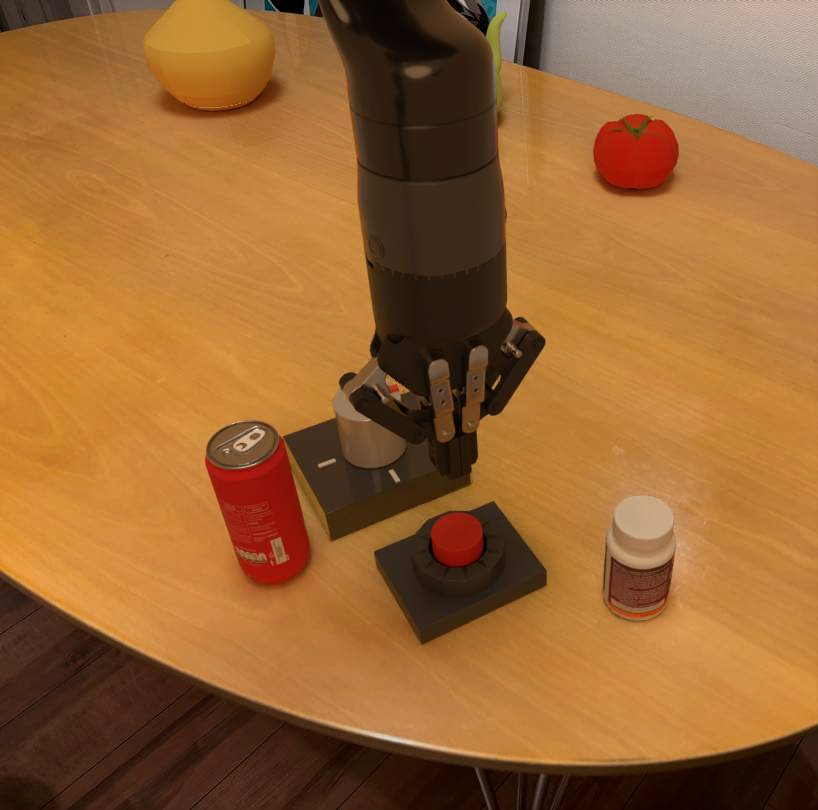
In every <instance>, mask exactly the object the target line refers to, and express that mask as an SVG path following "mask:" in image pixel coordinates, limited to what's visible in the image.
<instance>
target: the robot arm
mask: <svg viewBox="0 0 818 810" xmlns="http://www.w3.org/2000/svg"><path fill="white" fill-rule="evenodd" d="M317 2H318V6H319V8H320V12H321V14H322V16H323V20H324V21H325V25H326V27H327V30H328V32H329V34H330V37H331V40H332V41H333V43H334V45H335V48H336V51H337V52H338V55H339V58H340V60H341V63H342V66H343V69H344V73H345V78H346V89H347V90H346V91H347V98H348V99H347V100H348V106H349V114H350V120H351V128H352V134H353V142H354V148H355V155H356V199H357V208H358V209H357V210H358V215H359V223H360V231H361V238H362V245H363V251H364V258H365V259H364V260H365V266H366V272H367V279H368V286H369V294H370V300H371V307H372V315H373V320H374V325H375V327H374V333H373V336H372V338H371V341H370V343H369V353H370V357H371V358H370V359H369V360H368V362H367V363H366V364H365V365H364V366H363V367H362V368H361V369H360V370H359V372H358V373H355V372H354V371H350V372H345V373H344V374H343V375H342V376H341V377H340V378H339V380H338V386H339V389H340V388H341V389H342V391H343V392H344V394H345V395H346V397H347V398H348V400H349V402H350V403H351V404H352V406H353V407H354V409H355V410H356V411H357V412H358V413H360V414H362V415H363V416H365V417H367V418H369V419H370V420H372V421H374V422H375V423H377V424H379V425H381V426H382V427H384V428H386V429H387V430H389V431H391V432H392V433H394V434H396V435H398V436H399V437H401V438H403V439H404V440H406V441H408V442H409V443H411V444H413V445H418V444H421V443H423V442H424V441H425V440H426V438H427V443H428V452H429V459H430V461H431V462H432V463H433V465H434V466H435V468H436V469H437V470H438V472H439V473H440V474H441V476H444V475H446V476H447V477H448V479H449V480H450V481H452V480H455V479H458V478H460V477H463V476H465V475H468V474H470V475H471V474H472V472H473V469H472V465H475V464H476V463H477V462H478V461H477V460H478V458H479V450H478V449H479V447H478V431H477V430H478V429H479V427H480V424H481V423H480V422H481V420H483V419H484V418H485V417H486V416H488V415H489V416H491V417H496V416H498V415H500V414H501V413H502V412H503V411H504V409H505V408H506V407H507V405H508V404H509V402H510V400H511V399H512V398H513V396H514V394H515V392H516V391H517V389H518V388H519V386H520V385H521V383H522V382H523V380H524V379H525V377H526V376H527V374H528V373H529V371H530V369H531V368H532V366H533V365H534V364H535V362H536V360H537V359H538V358H539V356H540V355H541V353H542V351H543V350H544V349H545V347H546V345H547V344H546V343H547V340H546V338H545V337H544V336H543V334H541V333H540V332H539V331H538V330H537V329H536V328H535V327H534V326H533V325H532V324H531V323H530V322H529V321H528V320H527V319H526V318H525V317H524V316H516V317H515V318H513V314H512V313H511V311H510V310H509V308H508V307H507V305H508V267H507V266H508V265H507V263H508V262H507V258H508V257H507V225H506V224H507V218H508V213H507V206H506V195H505V184H504V178H503V173H502V167H501V160H500V151H499V150H500V149H499V125H498V124H499V123H498V119H499V118H498V113H497V79H496V67H495V59H494V54H493V51H492V48H491V45H490V43H489V42H488V40H487V38H486V35H485V34H484V33H483V32H482V31H481V30H480V29H479V28H478V27H477V26H475V25H474V24H473V23H472V22H470V21H469V20H467V19H466V18H464V16H462V15H461V14H460V13H458V12H457V11H456V10H455V9H454V8H453V7H452V6H451V5H450V3H449V2H448V1H447V0H317ZM387 377H390V378H391V379H392V380H394V381H396V382H397V383H398V384H400V385H401V386H402V387H404V388H405V389H407V390H408V392H409V391H411V392H412V393H414V394H415V395H416V396H417V400H418V405H419V409H418V410H411V408H410V407H408V406H407V405H405V404H403V403H402V402H400V401H399V400H397V399H396V398H394V397H392V396H391V395H390V388H389V386H388V385H387V384H386V381H385V380H387ZM498 379H499V380H498ZM497 381H498V382H497ZM496 382H497V384H496ZM495 384H496V385H495ZM494 386H495V387H494ZM493 387H494V388H493Z"/></svg>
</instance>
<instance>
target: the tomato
mask: <svg viewBox="0 0 818 810" xmlns="http://www.w3.org/2000/svg"><path fill="white" fill-rule="evenodd" d="M652 118H654V115H653V116H649V115H646V114H641V113H634V114H633V113H632V114H628V115H625V116H624V117H621V118H620V117H619V119H618V120H611V121H607V122H605V124H603V125H602V126H601V127H600V128H599V130H598V133H597V135H596V136H595V140H594V143H593V150H592V155H593V162H594V165H595V168H596V171H597V172H599V173H600V174H601V175H602V177H603V179H604V180H605V181H606V182H608V183H609V184H611V186H614V187H618V188H621V189H638V190H646V189H651V188H655V187H657V186H659V185H661V184H663V183H664V182H666V180H667V179H668V177H669V176H670V174H671V173H672V172H673V170H674V169H675V167H676V166H677V164H678V160H679V157H680V150H679V147H680V145H679V143H678V141H677V137H676V136H675V132H674V130H673V129H672V128H671V127H670V125H668V123H667V122H665V121H664V120H663V119H658V118H654V119H652Z"/></svg>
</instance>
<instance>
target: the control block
mask: <svg viewBox="0 0 818 810" xmlns="http://www.w3.org/2000/svg"><path fill="white" fill-rule="evenodd" d="M451 513H466V514H469V515H472V516H474V517H475V518H476V519H477V520H478V521H479V522H480V523H481V526H482V530H483V552H482V554H481V556H480V557H479V558H478V559H477V560H476V561H475V562H473V563H472V564H470V565H467V566H464V567H450V566H446V565H444V564H442V563H440V562H439V561H438V560H437V559H436V557H435V556H434V553H433V547H432V538H431V530H432V527H433V525H434V524H435V522H436V521H437V520H438V519H440V518H441V517H443V516H445V515H447V514H451ZM373 554H374V560H375V565H376V568H377V570H378V572H379V573H380V575H381V576H382V579H383V580H384V582H385V584H386V585H387V587H388V589H389V591H390V592H391V594H392V596H393V598H394V599H395V601H396V602H397V604H398V606H399V609H400V610H401V612H402V613H403V615H404V616H405V618H406V620H407V622H408V623H409V625H410V627H411V629H412V631H413V632H414V634H415V636H416V638H417V639H418V641H419V642H420V644H421V645H424V644H426V643H428V642H431V641H433V640H435V639H436V638H439V637H441V636H444V635H445V634H447V633H450V632H451V631H454V630H456V629H458V628H460V627H462V626H464V625H466V624H468V623H471V622H472V621H475V620H477V619H479V618H481V617H483V616H485V615H487V614H489V613H491V612H493V611H495V610H498V609H500V608H502V607H504V606H506V605H508V604H510V603H512V602H514V601H516V600H518V599H521V598H522V597H525V596H527V595H529V594H531V593H534V592H536V591H537V590H539V589H541V588H543V587H545V586H547V579H548V577H547V576H548V575H547V573H548V570H547V569H546V568H545V566H544V565H543V564H542V562H541V561H540V560H539V559H538V557H537V555H536V554H535V553H534V552H533V550H532V549H531V548H530V546H529V545H528V544H527V543H526V541H525V540H524V538H523V537H522V536H521V535H520V533H519V532H518V530H517V529H516V528H515V527H514V526H513V524H512V523H511V522H510V520H509V519H508V518H507V516H506V515H505V513H504V512H503V511H502V510H501V508H500V507H499V506H498V504H497V503H496V502H495V500H492V501H489V502H487V503H485V504H483V505H480V506H478V507H475V508H473V509H471V510H448V511H445V512H443V513H441V514H438V515H435V516H433V517H431V518H428V519H427V520H426V521H424V523H423V524H422V525H421V526H420V528H419V529H418V530H417V531H416V532H415V533H414V534H412V535H409V536H407V537H405V538H402V539H399V540H397V541H395V542H392V543H390V544H388V545H386V546H384V547H380V548H378V549H376V550H374V551H373Z"/></svg>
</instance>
